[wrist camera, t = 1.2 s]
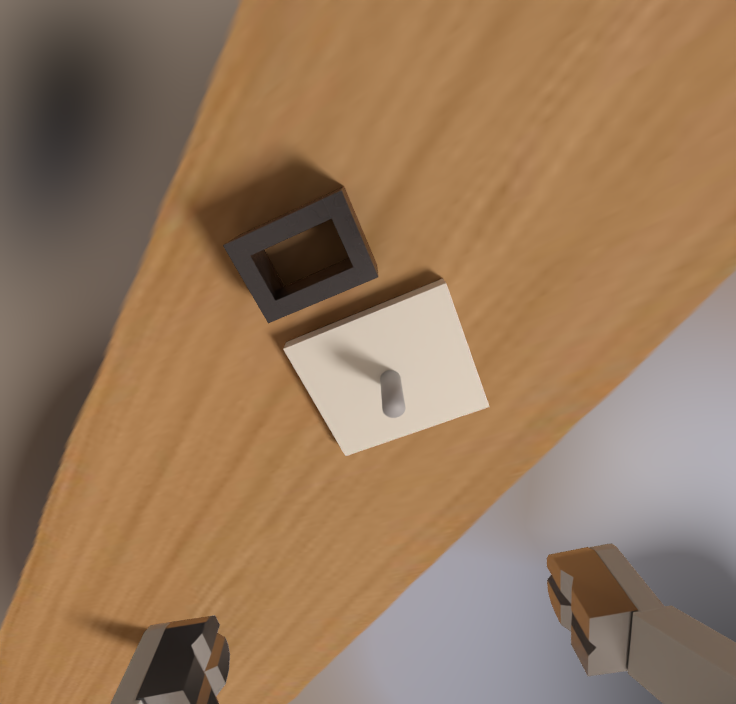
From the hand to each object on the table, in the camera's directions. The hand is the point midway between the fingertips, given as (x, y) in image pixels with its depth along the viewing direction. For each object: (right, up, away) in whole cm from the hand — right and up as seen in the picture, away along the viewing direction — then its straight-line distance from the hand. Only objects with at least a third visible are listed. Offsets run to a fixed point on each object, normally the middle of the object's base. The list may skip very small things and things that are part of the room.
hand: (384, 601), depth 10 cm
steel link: (-6, +15, +25) cm, 30 cm away
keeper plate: (+2, +4, +31) cm, 31 cm away
